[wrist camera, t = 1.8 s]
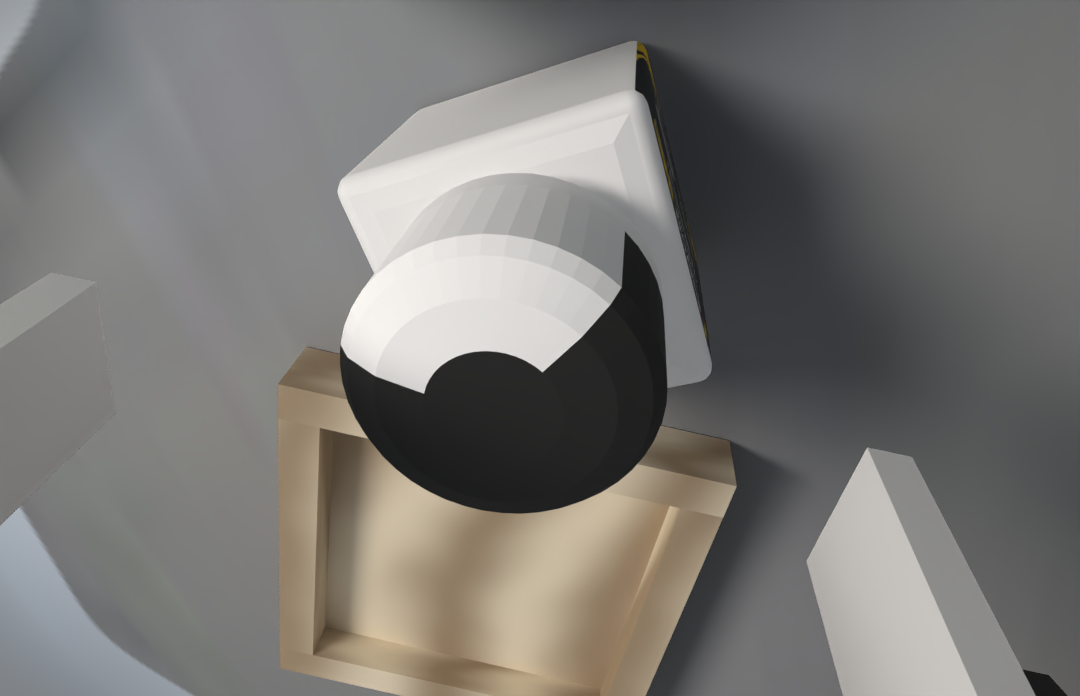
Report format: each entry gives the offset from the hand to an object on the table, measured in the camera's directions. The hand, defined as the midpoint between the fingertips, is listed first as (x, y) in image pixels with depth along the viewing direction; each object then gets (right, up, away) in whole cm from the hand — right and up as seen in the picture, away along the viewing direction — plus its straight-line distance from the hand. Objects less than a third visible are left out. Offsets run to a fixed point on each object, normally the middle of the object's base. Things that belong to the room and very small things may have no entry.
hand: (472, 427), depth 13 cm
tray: (-1, -7, +19) cm, 20 cm away
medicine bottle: (+2, +6, +10) cm, 12 cm away
